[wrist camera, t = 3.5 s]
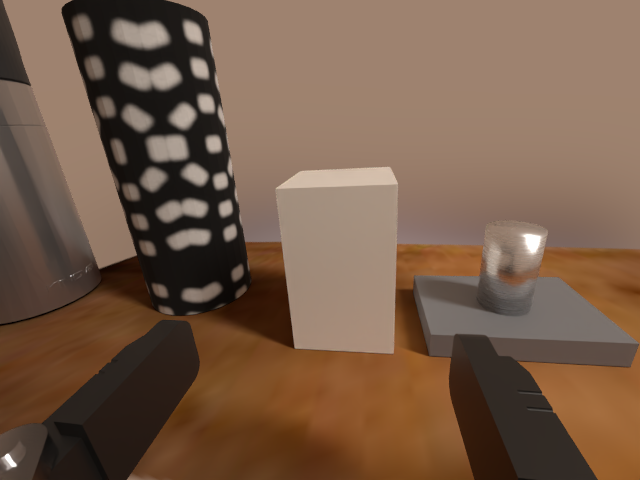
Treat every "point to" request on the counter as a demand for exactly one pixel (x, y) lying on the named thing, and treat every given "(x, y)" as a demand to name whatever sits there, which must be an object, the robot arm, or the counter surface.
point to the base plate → (526, 335)
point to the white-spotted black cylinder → (164, 145)
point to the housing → (340, 257)
